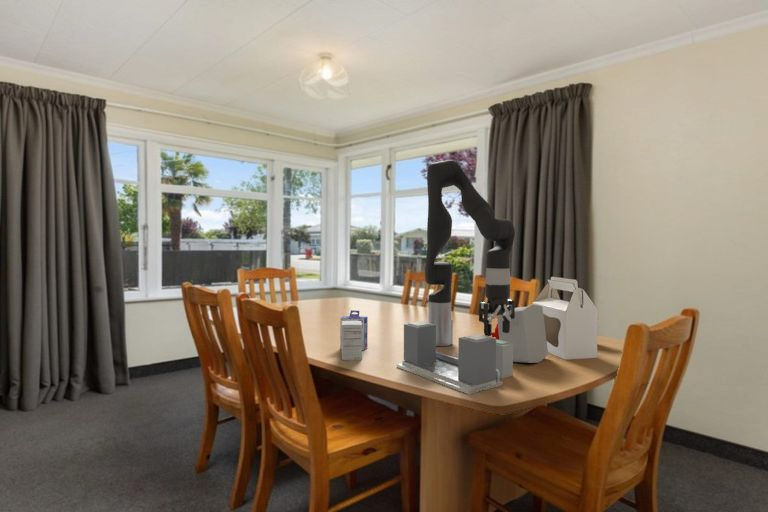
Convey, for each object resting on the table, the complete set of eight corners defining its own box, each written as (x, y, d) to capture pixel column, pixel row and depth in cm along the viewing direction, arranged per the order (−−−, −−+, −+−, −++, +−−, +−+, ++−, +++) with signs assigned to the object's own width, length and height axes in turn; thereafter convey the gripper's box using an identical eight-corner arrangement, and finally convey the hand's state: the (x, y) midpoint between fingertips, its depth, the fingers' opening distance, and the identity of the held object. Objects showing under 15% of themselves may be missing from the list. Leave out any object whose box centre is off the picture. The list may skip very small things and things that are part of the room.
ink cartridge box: (368, 347, 173) (368, 310, 172) (364, 350, 167) (364, 312, 167) (343, 345, 175) (344, 309, 174) (339, 349, 169) (339, 311, 169)
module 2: (477, 374, 132) (477, 333, 131) (495, 380, 126) (496, 337, 126) (458, 379, 127) (458, 336, 127) (476, 385, 121) (477, 340, 121)
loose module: (492, 369, 143) (492, 337, 143) (512, 375, 137) (513, 342, 137) (482, 372, 141) (482, 339, 140) (502, 378, 134) (502, 344, 134)
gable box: (531, 345, 177) (532, 276, 176) (560, 344, 180) (561, 275, 179) (565, 360, 155) (566, 281, 154) (597, 358, 158) (599, 280, 157)
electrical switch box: (511, 356, 168) (505, 304, 169) (548, 358, 157) (541, 302, 158) (490, 364, 157) (483, 308, 159) (529, 366, 147) (521, 306, 148)
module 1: (421, 356, 152) (422, 320, 151) (435, 360, 146) (436, 323, 146) (403, 359, 147) (403, 323, 147) (417, 364, 141) (417, 326, 141)
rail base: (428, 360, 154) (428, 349, 154) (502, 385, 128) (502, 371, 128) (396, 367, 145) (396, 355, 145) (469, 394, 120) (469, 380, 119)
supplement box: (341, 355, 161) (341, 320, 160) (361, 354, 161) (361, 320, 161) (341, 360, 153) (341, 324, 153) (362, 360, 154) (362, 324, 154)
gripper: (502, 280, 145) (502, 329, 145) (472, 282, 137) (472, 334, 137) (521, 282, 139) (521, 333, 139) (491, 284, 131) (491, 339, 131)
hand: (497, 334), depth 138 cm, fingers open, 8 cm apart
